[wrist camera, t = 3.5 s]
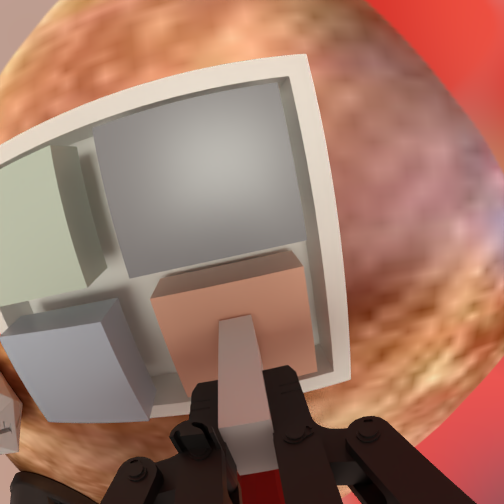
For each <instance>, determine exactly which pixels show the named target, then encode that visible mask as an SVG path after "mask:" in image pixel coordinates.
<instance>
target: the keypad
mask: <svg viewBox="0 0 504 504" xmlns="http://www.w3.org/2000/svg"><path fill="white" fill-rule="evenodd" d="M276 82H277V83H278V87H279V92H280V96H281V101H282V106H283V110H284V115H285V120H286V125H287V129H288V134H289V139H290V144H291V149H292V155H293V160H294V165H295V171H296V176H297V181H298V187H299V193H300V199H301V204H302V210H303V216H304V222H305V229H306V235H307V240H306V241H301V242H296V243H292V244H287V245H283V246H278V247H273V248H269V249H264V250H259V251H255V252H250V253H246V254H241V255H236V256H232V257H227V258H223V259H218V260H213V261H209V262H204V263H199V264H195V265H190V266H186V267H181V268H176V269H172V270H167V271H163V272H158V273H153V274H149V275H144V276H139V277H135V278H130V279H129V275H128V272H127V269H126V266H125V263H124V260H123V256H122V253H121V250H120V246H119V243H118V239H117V236H116V232H115V229H114V225H113V221H112V218H111V214H110V210H109V206H108V202H107V198H106V194H105V190H104V185H103V181H102V177H101V172H100V167H99V163H98V158H97V153H96V148H95V142H94V137H93V131H92V128H93V127H96V126H99V125H102V124H104V123H107V122H110V121H113V120H116V119H119V118H122V117H125V116H128V115H131V114H135V113H138V112H141V111H145V110H148V109H151V108H155V107H158V106H162V105H166V104H170V103H173V102H177V101H181V100H185V99H189V98H194V97H198V96H203V95H207V94H212V93H217V92H222V91H227V90H232V89H237V88H243V87H249V86H255V85H262V84H269V83H276ZM49 145H58V146H75V147H77V150H78V155H79V160H80V165H81V170H82V174H83V179H84V184H85V188H86V192H87V196H88V200H89V205H90V208H91V212H92V216H93V220H94V224H95V227H96V231H97V234H98V238H99V241H100V245H101V248H102V251H103V255H104V258H105V261H106V264H107V267H108V268H107V269H106V270H105V271H104V272H103V273H102V274H101V275H100V276H99V277H98V278H97V279H96V280H95V281H94V282H93V283H92V284H91V285H90V286H89V287H88V288H84V289H79V290H75V291H70V292H66V293H61V294H56V295H52V296H47V297H43V298H38V299H33V300H29V301H24V302H19V303H15V304H10V305H6V306H1V307H0V333H1V334H2V333H3V332H4V331H5V330H6V329H7V328H9V327H10V326H11V325H12V324H13V323H14V322H15V321H16V320H17V319H18V318H19V317H20V316H24V315H29V314H35V313H40V312H46V311H51V310H56V309H62V308H67V307H72V306H77V305H82V304H88V303H93V302H98V301H103V300H108V299H113V298H118V299H119V302H120V305H121V307H122V310H123V313H124V315H125V318H126V321H127V323H128V326H129V328H130V331H131V333H132V336H133V338H134V340H135V343H136V345H137V348H138V350H139V352H140V355H141V357H142V359H143V361H144V364H145V366H146V368H147V370H148V373H149V375H150V377H151V379H152V381H153V383H154V385H155V388H156V394H155V399H154V403H153V407H152V411H151V415H150V418H157V417H168V416H177V415H186V414H190V405H191V397H188V396H187V394H186V392H185V389H184V387H183V385H182V382H181V380H180V378H179V375H178V373H177V370H176V368H175V365H174V363H173V360H172V358H171V355H170V353H169V350H168V348H167V345H166V342H165V340H164V337H163V334H162V332H161V329H160V326H159V324H158V321H157V318H156V315H155V312H154V309H153V307H152V304H151V301H150V298H151V296H152V294H153V292H154V290H155V288H156V286H157V284H158V282H159V280H160V279H161V278H166V277H170V276H175V275H180V274H184V273H189V272H194V271H198V270H203V269H208V268H212V267H217V266H222V265H226V264H231V263H236V262H240V261H245V260H249V259H254V258H259V257H263V256H268V255H272V254H277V253H281V252H286V251H291V250H292V252H293V253H294V254H295V256H296V257H297V258H298V260H299V261H300V262H301V264H302V265H303V266H304V273H305V279H306V286H307V293H308V300H309V308H310V315H311V322H312V330H313V338H314V346H315V354H316V363H317V372H313V373H309V374H305V375H302V376H298V379H299V382H300V385H301V388H302V391H303V393H304V392H308V391H312V390H316V389H320V388H323V387H327V386H330V385H334V384H337V383H341V382H344V381H347V380H351V363H350V341H349V324H348V309H347V297H346V285H345V274H344V264H343V255H342V246H341V238H340V230H339V222H338V215H337V208H336V201H335V194H334V187H333V181H332V175H331V169H330V163H329V157H328V152H327V146H326V141H325V136H324V131H323V126H322V121H321V116H320V111H319V106H318V102H317V97H316V93H315V88H314V84H313V80H312V75H311V71H310V67H309V63H308V59H307V55H306V54H296V55H286V56H276V57H268V58H260V59H253V60H246V61H240V62H234V63H228V64H223V65H218V66H212V67H208V68H203V69H198V70H194V71H189V72H185V73H181V74H177V75H173V76H169V77H166V78H162V79H158V80H155V81H151V82H148V83H144V84H141V85H138V86H135V87H132V88H128V89H125V90H122V91H119V92H117V93H114V94H111V95H108V96H105V97H102V98H100V99H97V100H94V101H92V102H89V103H87V104H84V105H82V106H79V107H77V108H74V109H72V110H70V111H67V112H65V113H63V114H60V115H58V116H56V117H54V118H52V119H49V120H47V121H45V122H43V123H41V124H39V125H37V126H35V127H33V128H31V129H29V130H27V131H25V132H23V133H21V134H19V135H17V136H15V137H14V138H12V139H10V140H8V141H6V142H4V143H3V144H1V145H0V169H2V168H3V167H5V166H7V165H9V164H11V163H13V162H15V161H17V160H19V159H21V158H23V157H25V156H27V155H29V154H31V153H34V152H36V151H38V150H40V149H42V148H44V147H47V146H49Z"/></svg>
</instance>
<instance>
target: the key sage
mask: <svg viewBox="0 0 504 504" xmlns="http://www.w3.org/2000/svg"><path fill="white" fill-rule="evenodd" d="M107 268H108V267H107V264H106V261H105V258H104V255H103V251H102V248H101V245H100V241H99V238H98V234H97V231H96V227H95V224H94V220H93V216H92V212H91V208H90V205H89V200H88V196H87V192H86V188H85V184H84V179H83V174H82V170H81V165H80V160H79V155H78V150H77V147H75V146H58V145H49V146H47V147H44V148H42V149H40V150H38V151H36V152H34V153H31V154H29V155H27V156H25V157H23V158H21V159H19V160H17V161H15V162H13V163H11V164H9V165H7V166H5V167H3V168H2V169H0V307H1V306H6V305H10V304H15V303H19V302H24V301H29V300H33V299H38V298H43V297H47V296H52V295H56V294H61V293H66V292H70V291H75V290H79V289H84V288H88V287H89V286H90V285H91V284H92V283H93V282H94V281H95V280H96V279H97V278H98V277H99V276H100V275H101V274H102V273H103V272H104V271H105V270H106V269H107Z"/></svg>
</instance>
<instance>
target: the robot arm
mask: <svg viewBox="0 0 504 504" xmlns="http://www.w3.org/2000/svg"><path fill="white" fill-rule="evenodd" d="M169 438H170V439H171V441H172V443H173V444H174V446H175V448H176V449H177V451H178V454H177V455H175V456H173V457H171V458H168V459H165V460H162V461H159V462H156V463H154V462H153V461H152V460H151V459H149V458H146V457H135V458H131V459H129V460H127V461H126V462H124V463H123V464H122V466H121V467H120V468H119V470H118V472H117V474H116V475H115V477H114V479H113V481H112V483H111V485H110V486H109V488H108V490H107V492H106V494H105V496H104V498H103V499H102V501H101V503H100V504H243V503H242V492H241V487H240V484H239V482H238V479H237V471H238V473H239V475H246V474H252V473H259V472H264V471H270V470H275V469H279V474H280V479H281V485H282V490H283V495H284V500H285V504H343V502H342V499H341V496H340V493H339V490H338V487H337V485H348V487H349V488H350V489H351V491H352V492H353V493H354V494H355V496H356V497H357V498H358V500H359V501H360V502H361V503H362V504H476V503H475V502H474V501H473V500H472V499H471V498H470V497H469V496H467V495H466V494H465V493H464V492H463V491H462V490H461V489H460V488H458V487H457V486H456V485H455V484H454V483H453V482H452V481H451V480H449V479H448V478H447V477H446V476H445V475H444V474H443V473H442V472H441V471H440V470H438V469H437V468H436V467H435V466H434V465H433V464H432V463H431V462H430V461H429V460H428V459H426V458H425V457H424V456H423V455H422V454H421V453H420V452H419V451H418V450H417V449H416V448H415V447H413V446H412V445H411V444H410V443H409V442H408V441H407V440H406V439H405V438H404V437H403V436H402V435H401V434H400V433H398V432H397V431H396V430H395V429H394V428H393V427H392V426H391V425H390V424H389V423H388V422H387V421H385V420H383V419H382V418H379V417H375V416H367V417H362V418H359V419H357V420H355V421H354V422H352V423H351V424H350V425H349V427H348V428H345V429H329V428H325V427H322V426H320V425H318V424H316V423H315V422H314V421H313V419H312V417H311V415H310V412H309V409H308V406H307V403H306V400H305V397H304V394H303V391H302V388H301V385H300V382H299V379H298V376H297V373H296V371H295V370H293V369H292V368H291V367H290V366H289V365H285V366H280V367H276V368H271V369H267V370H264V369H263V364H262V359H261V355H260V351H259V347H258V342H257V338H256V334H255V329H254V325H253V321H252V316H251V315H246V316H241V317H236V318H232V319H227V320H222V321H219V342H218V380H214V381H208V382H202V383H198V384H197V385H196V387H195V388H194V390H193V391H192V395H191V405H190V415H189V420H187V421H184V422H182V423H180V424H178V425H177V426H176V427H175V428H174V429H173V430H172V431H171V434H170V436H169ZM10 492H11V500H10V504H96V503H95V502H93V501H92V500H90V499H88V498H87V497H85V496H83V495H82V494H80V493H78V492H76V491H74V490H72V489H70V488H68V487H66V486H64V485H62V484H60V483H57V482H55V481H53V480H50V479H48V478H45V477H43V476H40V475H37V474H33V473H29V472H18V473H16V474H15V476H14V478H13V481H12V483H11V486H10Z"/></svg>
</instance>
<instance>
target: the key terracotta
mask: <svg viewBox="0 0 504 504" xmlns="http://www.w3.org/2000/svg"><path fill="white" fill-rule="evenodd" d="M150 301H151V304H152V307H153V309H154V312H155V315H156V318H157V321H158V324H159V326H160V329H161V332H162V334H163V337H164V340H165V342H166V345H167V348H168V350H169V353H170V355H171V358H172V360H173V363H174V365H175V368H176V370H177V373H178V375H179V378H180V380H181V382H182V385H183V387H184V389H185V392H186V394H187V396H188V397H191V395H192V391H193V390H194V388H195V387H196V385H197V384H198V383H202V382H208V381H214V380H218V342H219V321H222V320H227V319H232V318H236V317H241V316H246V315H251V316H252V321H253V325H254V329H255V334H256V338H257V342H258V347H259V351H260V355H261V359H262V364H263V369H264V370H267V369H271V368H276V367H280V366H285V365H289V366H290V367H291V368H292V369H293V370H295V371H296V373H297V376H302V375H305V374H309V373H313V372H317V363H316V354H315V346H314V338H313V330H312V322H311V315H310V308H309V300H308V293H307V286H306V279H305V273H304V266H303V265H302V264H301V262H300V261H299V260H298V258H297V257H296V256H295V254H294V253H293V252H292V250H291V251H286V252H281V253H277V254H272V255H268V256H263V257H259V258H254V259H249V260H245V261H240V262H236V263H231V264H226V265H222V266H217V267H212V268H208V269H203V270H198V271H194V272H189V273H184V274H180V275H175V276H170V277H166V278H161V279H160V280H159V282H158V284H157V286H156V288H155V290H154V292H153V294H152V296H151V298H150Z"/></svg>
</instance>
